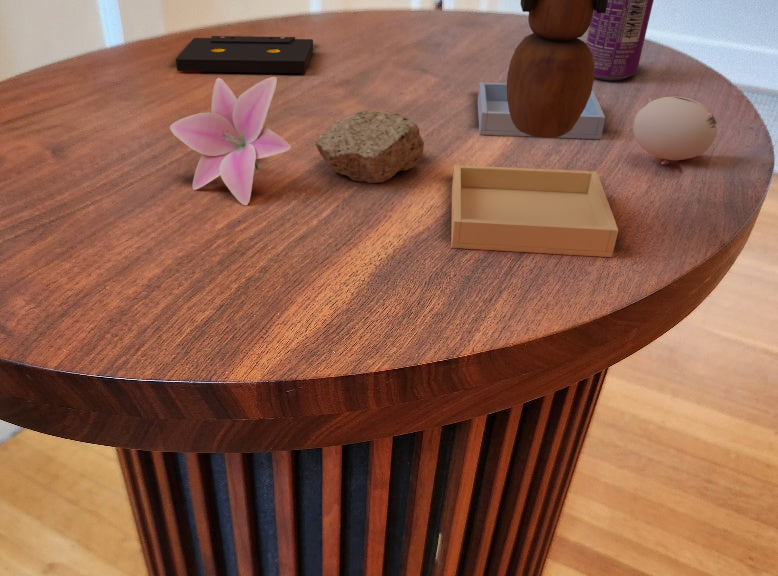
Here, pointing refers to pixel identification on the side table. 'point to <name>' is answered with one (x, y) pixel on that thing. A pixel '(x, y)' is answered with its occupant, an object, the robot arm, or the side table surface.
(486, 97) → the blue tray
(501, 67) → the side table surface
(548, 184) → the birch tray
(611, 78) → the beverage can
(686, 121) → the beige smooth oval piece
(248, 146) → the lily
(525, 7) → the robot arm
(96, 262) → the side table surface
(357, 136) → the rock
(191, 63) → the cassette tape
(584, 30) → the wooden figurine
